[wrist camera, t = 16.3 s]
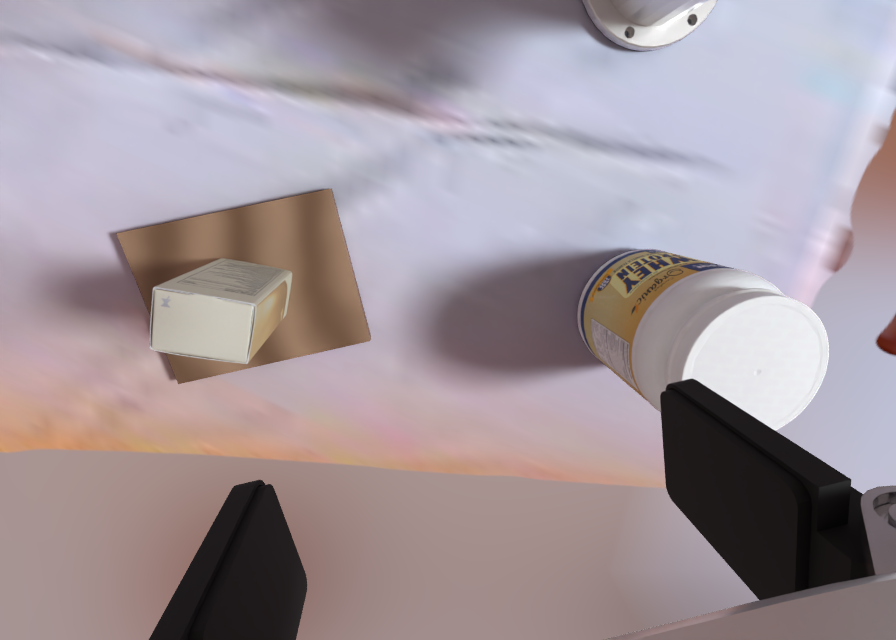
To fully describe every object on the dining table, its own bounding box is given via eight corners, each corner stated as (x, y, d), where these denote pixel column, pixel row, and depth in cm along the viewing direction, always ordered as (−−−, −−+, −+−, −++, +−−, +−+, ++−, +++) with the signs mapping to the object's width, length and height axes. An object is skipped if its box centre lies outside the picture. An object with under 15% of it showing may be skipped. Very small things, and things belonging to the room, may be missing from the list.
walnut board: (331, 188, 40) (329, 188, 39) (370, 336, 44) (370, 340, 43) (124, 232, 39) (116, 233, 38) (184, 378, 43) (178, 384, 42)
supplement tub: (675, 228, 44) (836, 251, 28) (698, 338, 48) (853, 414, 32) (557, 274, 44) (651, 323, 28) (589, 380, 48) (688, 478, 32)
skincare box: (215, 304, 40) (141, 350, 29) (220, 255, 39) (145, 284, 28) (290, 317, 41) (248, 368, 30) (297, 271, 40) (255, 304, 29)
